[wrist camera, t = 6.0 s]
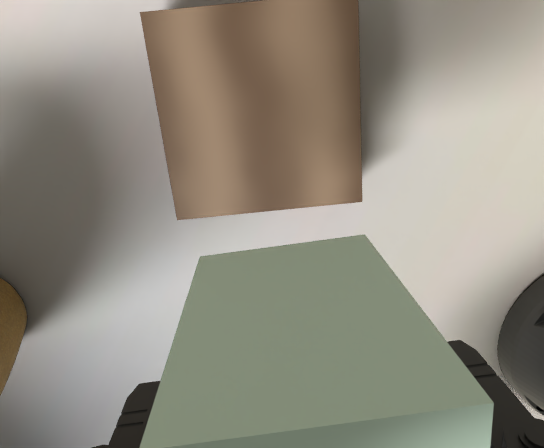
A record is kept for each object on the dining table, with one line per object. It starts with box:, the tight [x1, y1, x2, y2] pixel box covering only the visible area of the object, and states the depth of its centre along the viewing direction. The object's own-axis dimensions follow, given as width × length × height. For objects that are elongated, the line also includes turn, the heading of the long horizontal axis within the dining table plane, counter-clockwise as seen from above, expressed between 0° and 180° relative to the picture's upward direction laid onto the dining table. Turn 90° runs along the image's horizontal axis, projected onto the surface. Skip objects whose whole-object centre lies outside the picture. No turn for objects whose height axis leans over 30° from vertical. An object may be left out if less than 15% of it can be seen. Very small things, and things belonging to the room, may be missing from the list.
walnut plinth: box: [140, 0, 362, 220], centre depth 25 cm, size 12×12×4 cm
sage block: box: [140, 235, 494, 448], centre depth 11 cm, size 6×6×8 cm
